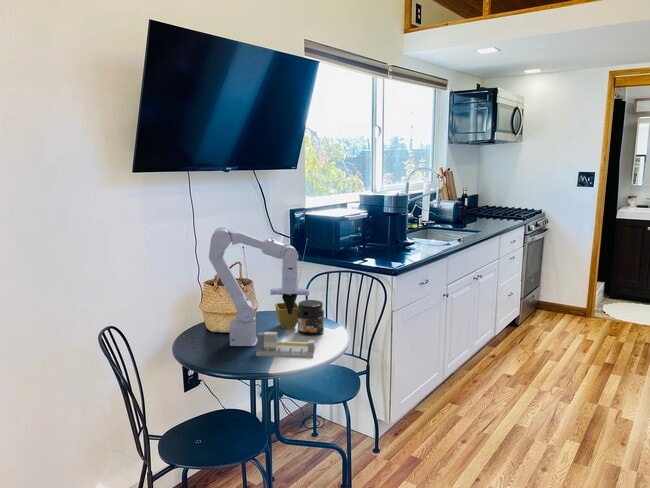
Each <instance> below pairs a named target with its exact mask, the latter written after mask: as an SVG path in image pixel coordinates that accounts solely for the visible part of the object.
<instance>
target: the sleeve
mask: <svg viewBox="0 0 650 488" xmlns="http://www.w3.org/2000/svg"><path fill="white" fill-rule="evenodd" d="M276 342H279V341H278V332H277V331H264V350H267V347H269V350H277V347H278V345H276Z"/></svg>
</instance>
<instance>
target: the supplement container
mask: <svg viewBox="0 0 650 488" xmlns="http://www.w3.org/2000/svg"><path fill="white" fill-rule="evenodd" d="M298 306H299V310H298V311H297V314H298V323H297V332H298V334H300V335H302V336H305V337H315V336H319V335H322V334H323V333H324V330H325V326H324V325H325V323H324V318H325V316H324V315H325V311H324V307H323V306H324V304H323V302H322V301H320V300H316V299H306V300H301V301H299V302H298Z"/></svg>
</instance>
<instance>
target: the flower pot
mask: <svg viewBox="0 0 650 488" xmlns="http://www.w3.org/2000/svg"><path fill="white" fill-rule="evenodd" d="M298 310H299V304H298V303H297V302H296V301H295V302H294V305H293V310H292V314H288V311H287V307H286V305H285V302H277V303H275V313H276V318H277V321H278V323H279V325H280V326H281V328H282V329H294V328H296V327H297V326H298V314H297V311H298Z"/></svg>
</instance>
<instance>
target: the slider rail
mask: <svg viewBox="0 0 650 488" xmlns="http://www.w3.org/2000/svg"><path fill="white" fill-rule="evenodd" d="M264 333H265V331H264V332H261V331H259V332H257V334H256V338H257V343H256V347H257V350H256V352H255V357H278V358H282V357H283V358H284V357H285V358H286V357H287V358H314V354H315V349H316V345H315V339H309V340H308V341H307V342H302V341H278V342H276V345H278V347H277V350H269V347H267V350H264Z"/></svg>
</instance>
